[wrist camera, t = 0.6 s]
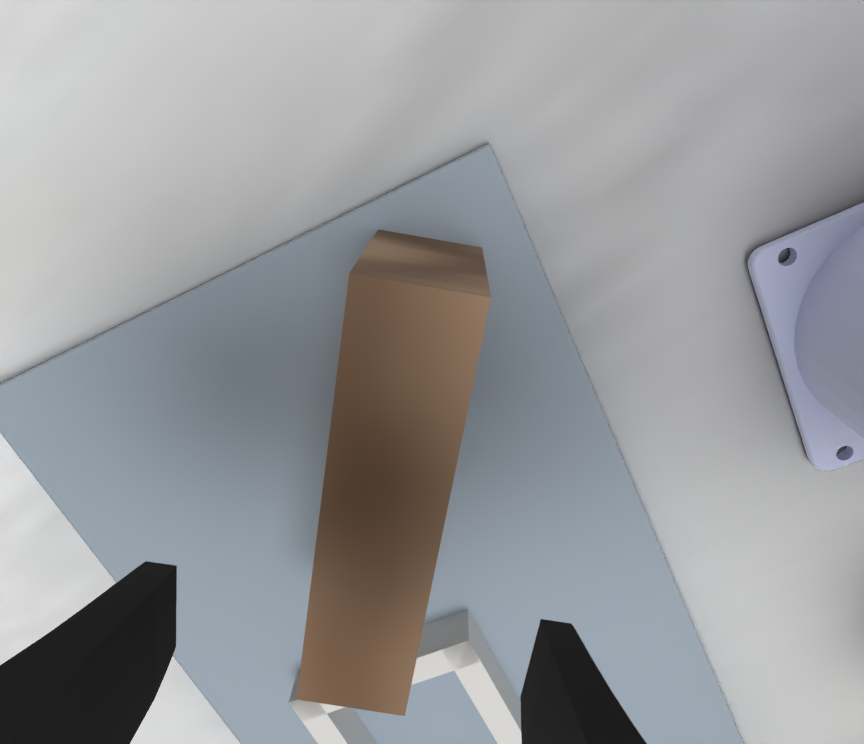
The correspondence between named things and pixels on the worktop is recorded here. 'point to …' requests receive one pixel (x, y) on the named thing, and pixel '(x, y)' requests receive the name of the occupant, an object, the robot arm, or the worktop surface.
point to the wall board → (304, 474)
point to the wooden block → (390, 464)
